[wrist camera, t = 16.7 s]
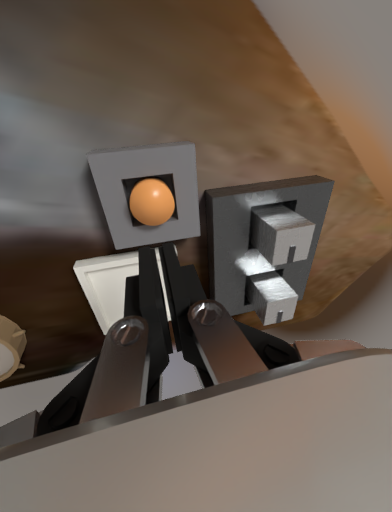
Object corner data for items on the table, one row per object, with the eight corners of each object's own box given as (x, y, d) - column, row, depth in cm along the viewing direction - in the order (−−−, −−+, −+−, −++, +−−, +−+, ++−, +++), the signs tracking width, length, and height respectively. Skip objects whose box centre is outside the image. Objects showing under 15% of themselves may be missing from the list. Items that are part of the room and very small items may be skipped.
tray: (76, 260, 25) (73, 268, 24) (174, 244, 27) (176, 250, 26) (105, 326, 32) (104, 334, 30) (183, 309, 33) (185, 316, 32)
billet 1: (246, 206, 26) (277, 231, 20) (276, 201, 26) (316, 224, 21) (244, 237, 28) (272, 267, 22) (272, 231, 29) (307, 260, 23)
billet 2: (243, 268, 31) (267, 303, 25) (269, 263, 32) (299, 296, 26) (241, 290, 33) (264, 327, 27) (265, 285, 34) (292, 320, 28)
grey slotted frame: (205, 190, 24) (212, 197, 22) (316, 175, 26) (334, 180, 24) (210, 304, 34) (215, 319, 32) (290, 287, 36) (302, 299, 34)
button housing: (92, 150, 20) (86, 154, 17) (188, 140, 21) (194, 143, 19) (118, 236, 25) (115, 249, 22) (194, 224, 26) (200, 235, 24)
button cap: (126, 179, 20) (124, 185, 18) (168, 174, 21) (171, 179, 19) (135, 219, 22) (135, 228, 20) (173, 213, 23) (176, 222, 21)
